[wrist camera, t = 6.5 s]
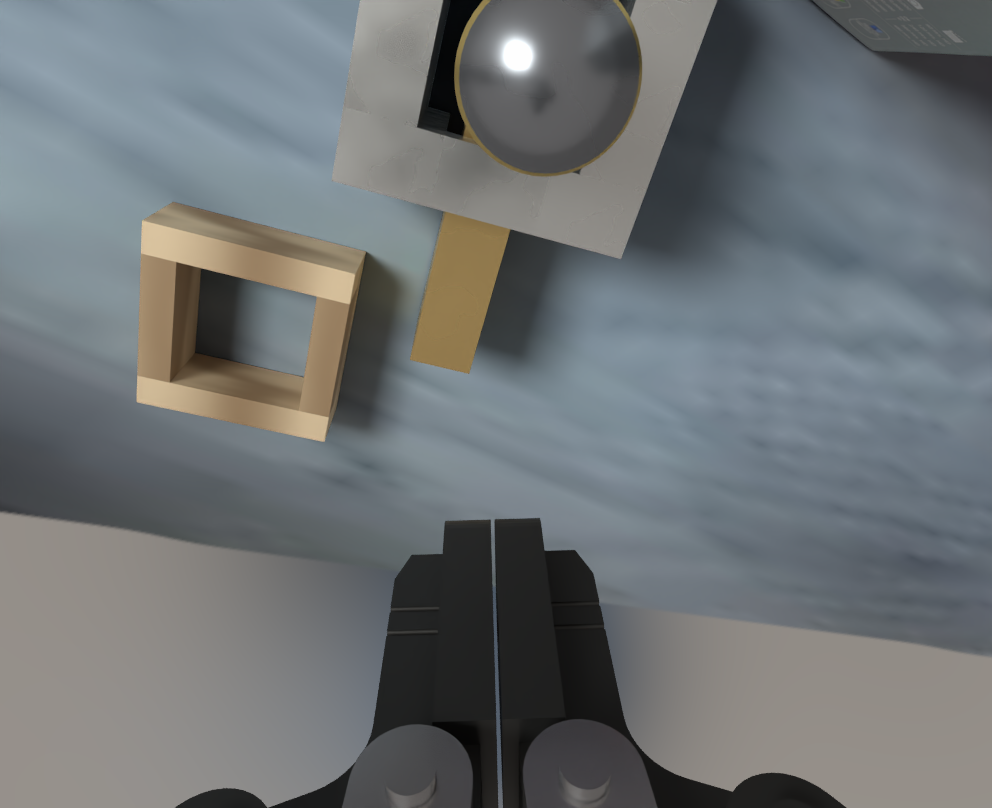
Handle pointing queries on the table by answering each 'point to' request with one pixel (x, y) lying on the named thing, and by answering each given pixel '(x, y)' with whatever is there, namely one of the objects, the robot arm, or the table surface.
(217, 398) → the wooden square frame
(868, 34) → the hard drive box
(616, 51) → the grey metal cylinder
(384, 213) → the table surface
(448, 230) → the bar
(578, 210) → the socket block
